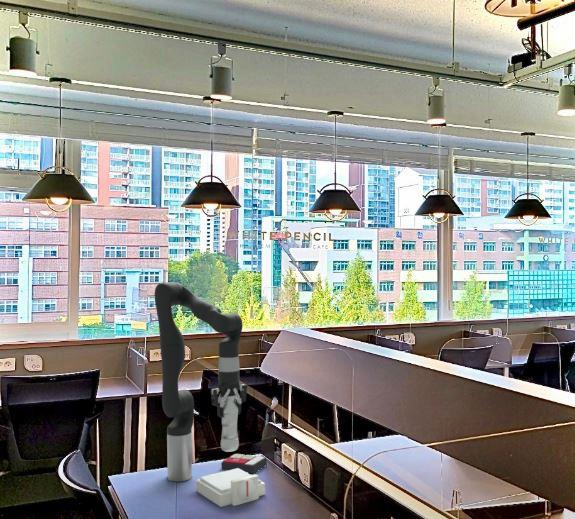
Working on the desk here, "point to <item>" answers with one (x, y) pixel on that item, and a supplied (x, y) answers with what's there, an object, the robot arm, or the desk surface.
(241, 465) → the calculator
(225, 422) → the silver metal bottle
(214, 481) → the plate
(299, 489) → the desk surface
